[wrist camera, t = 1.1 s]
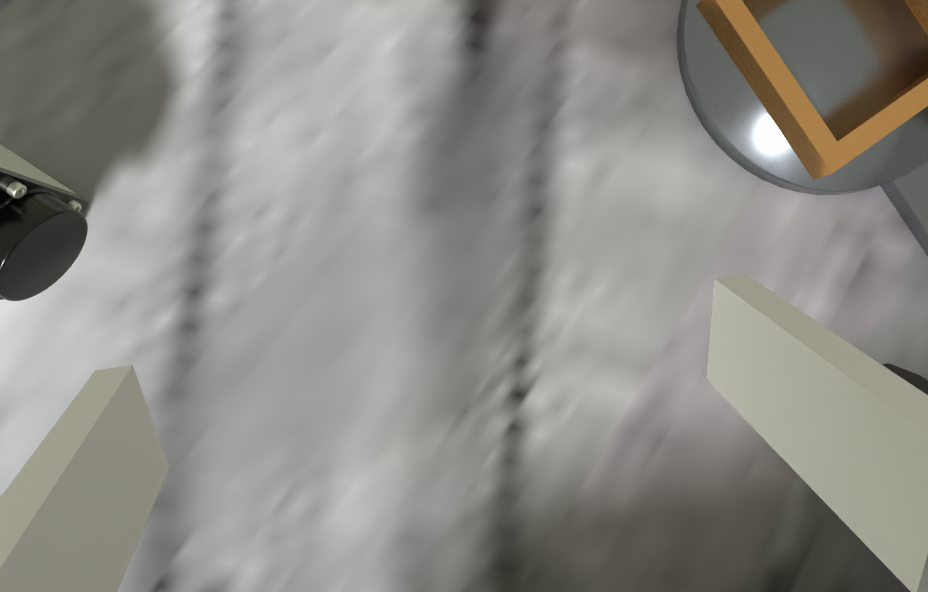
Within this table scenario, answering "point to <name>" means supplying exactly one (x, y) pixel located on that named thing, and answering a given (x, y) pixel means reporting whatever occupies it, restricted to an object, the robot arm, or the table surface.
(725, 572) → the table surface
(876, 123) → the round pan with handle
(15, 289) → the pneumatic valve
